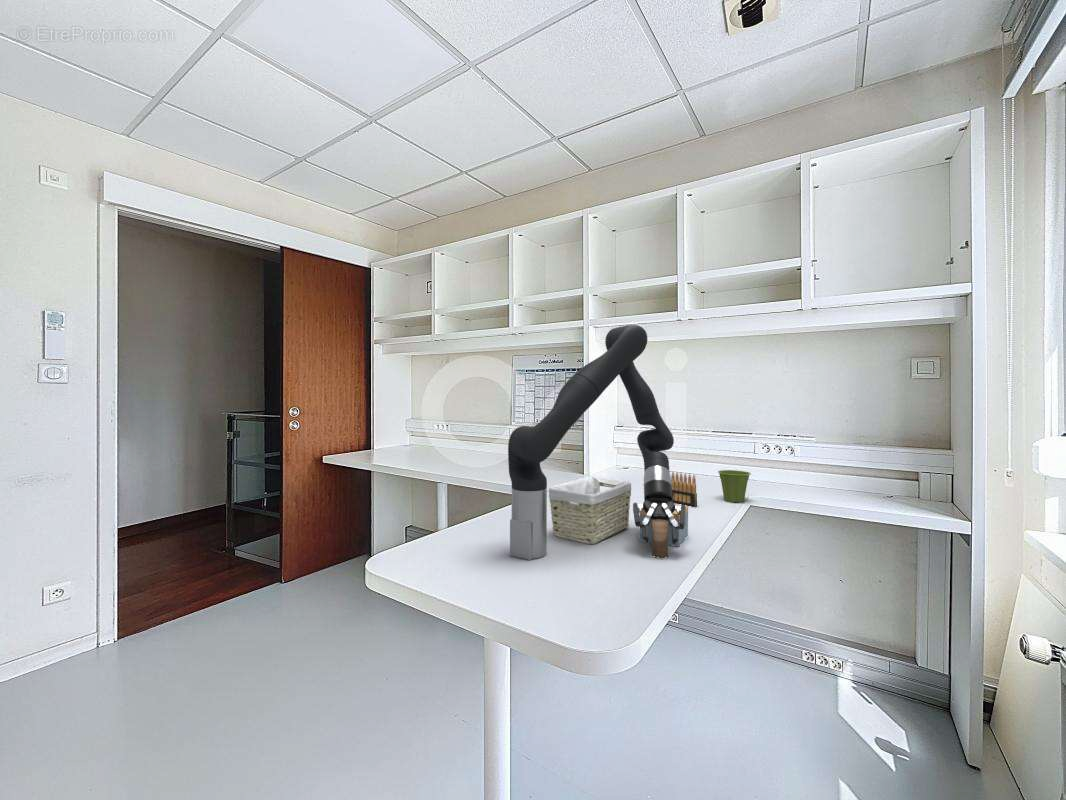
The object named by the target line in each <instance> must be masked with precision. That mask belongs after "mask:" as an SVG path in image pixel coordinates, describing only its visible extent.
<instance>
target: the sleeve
mask: <svg viewBox="0 0 1066 800" xmlns="http://www.w3.org/2000/svg"><path fill="white" fill-rule="evenodd" d="M674 504H675V503H674ZM675 506H681V505H679V504H675ZM646 514H647V513H646V512H645V511H644V509H641V512H640V513H639V516H640V520H642V521H643V520H644V519H645V517H646ZM672 514H673V516H674V519H675V520H676V522H677V523H678V522H680V515H678V514H677V511H676V510H675V511H674V512H673V513H672ZM652 520H653V519H652ZM678 536H679V538H678V542H676V544H673V542H672V528H671V526H670V525H669V524H668V546H669V545H674V546H673V547H675V546H679V545H680V544H681V543H682V542H683V541H686V539H687V538H688V537H689V506H686V511H685V525H684V529H679V530H678ZM687 536H688V537H687ZM686 537H687V538H686ZM685 538H686V539H685ZM640 540H641V541H642V542H645V540H643V533H642V528H641V527H639V541H640ZM641 541H640V542H641ZM648 541H649V542H648V543H651V542H652V521H651V522H650V524H649V525H648ZM683 543H684V542H683ZM683 543H682V544H683ZM682 544H681V545H682ZM681 545H680V546H681ZM680 546H679V547H680Z"/></svg>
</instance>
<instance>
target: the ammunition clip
mask: <svg viewBox="0 0 1066 800" xmlns="http://www.w3.org/2000/svg"><path fill="white" fill-rule="evenodd" d="M670 476H671V485H672V497H673V503H674V504H676V505H679V504H681V505H686V506H688V507H689V506H691V507H690V508H694V507H695V508H698V493H697V480H696V475H695V474H693V475H692V476H691V473H689V474H688V477H687V473H684V475H683V473H682V472H680V474H679V472H677V471H676V473H675V472H674V471H672V472H671V475H670Z"/></svg>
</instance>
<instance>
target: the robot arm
mask: <svg viewBox="0 0 1066 800" xmlns="http://www.w3.org/2000/svg"><path fill="white" fill-rule="evenodd" d="M604 342H605V347H606V351H605V352H604V353H603V354H602V355H600V356H598V357H596V358H595V359H594V360H592V361H590V362H589V363H587V364H585V365H584V366H583V367H581V368H580V369H579V370H577V371H576V372H575V373H574V374H573V375H572V376H571V377H570V378H569V380H567V382H566V383H564V385H563V386H562V387H561V389H560V390H559V392H558V393H557V394H558V395H557V397H556V400H555V403H554V404H553V407H552V408H551V410H550V411H549V412H548V413H547V414H546V416H544V417H543V418H542V419H541V420H540V421H539V422H538V423H537V424H536V425H534V426H529V425H522V426H519V427H516V428H515V429H514V430H513V431H512V433H511V434H510V435H509V439H508V446H507V453H508V455H507V456H508V458H507V459H508V462H507V463H508V475H509V478H510V481H511V518H510V520H509V556H511V557H514V558H519V559H523V560H529V561H531V560H534V559H539V558H542V557H545V556H546V555H547V553H548V552H547V550H548V548H547V542H548V540H547V537H548V535H547V534H548V533H547V526H548V522H547V518H548V517H547V512H548V510H547V509H548V506H547V505H548V503H547V502H548V500H547V499H548V481H547V479H548V478H547V476H546V475H545V474H544V472H543V471H542V467H541V463H542V462H544V461H546V459H547V460H548V458H549V457H550V456H551V454H553V452H554V450H555V449H556V448H557V446H558V445H559V444H560V442H561V441H562V439H563V438H564V437H565V435H566V434H567V433H568V431H570V429H571V428H572V426H574V424H575V423H577V421H578V420H579V419H580V418H581V417H582V416H583V415H584V413H586V412H587V410H588V409H589V408H590V407H592V405H593V404H594V403H595V402H596V401H597V400H598V398H599V397H601V395H602V394H603V393H604V391H605V390H606V389H607V388H608V387H609V386H610V385H611V384H612V383H613V382H614V380H615V379H617V377H618V376H619V377H620V380H621V381H622V383H623V386H624V387H625V390H626V393H627V395H628V398H629V401H630V404H631V407H632V411H633V413H634V417H635V419H636V422H637V424H638V425H641V426H644V425H645V426H652V427H654V428H653V429H652V428H651V429H646V430H642V431H641V432H639V434H638V435H637V439H636V442H637V445H638V447H639V450H640V453H641V455H642V459H643V469H644V470H643V471H644V475H643V483H642V484H643V497H644V498H643V499H644V500H643V503H639V504H638V503H637V502H633V504H632V511H633V513H632V514H633V519H634V524H635V525H634V526H635V527H637V528H640V527H641V528H642V533H643V540H645V541H644V542H646V543H649V542H648V525H649V524H650V522H651V521H652V519H653V520H655V519H662V520H666V521H668V524H669V525H670V526H671V528H672V542H673V544H676V542H678V538H679V536H678V530H679V529H684V525H685V511H686V506H685V505H681V506H675V503H673V497H672V485H671V476H672V475H671V473H670V472H671V471H670V460H669V457H668V455H667V454H666V453H664V452H663V451H668V450H671V449H672V448H673V446H674V443H675V440H674V436H673V434H672V431H671V430H670V428H669V427H668V425H667V424H666V423H665V420H664V419H663V418H662V416H661V413H660V412H659V407H658V404H657V402H656V398H655V395H654V392H653V391H652V389H651V387H650V386H649V385H648V383H647V382H646V381H645V380H644V378H643V377H642V375H641V373H639V371H638V369H637V367H636V366H635V363H634V361H635V360H636V359H637V358H639V356H641V355H642V354H643V353H644V351H645V350H646V347H647V344H648V333H647V331H646V330H645V329H644V328H643V327H642V326H640V325H636V324H627V325H623V326H618V327H613V328H611V329H610V330H609V331H608V332H607V334H606V335H605V341H604ZM641 509H644V511H645V512H646V513H647V514H646V517H645V519H644V520H643V521H642V520H640V512H641ZM675 510H676V511H677V514H678V515H680V522H678V523H677V522H676V520H675V519H674V516H673V514H672V513H673V512H674V511H675Z"/></svg>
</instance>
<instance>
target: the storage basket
mask: <svg viewBox="0 0 1066 800" xmlns="http://www.w3.org/2000/svg"><path fill="white" fill-rule="evenodd" d="M600 487H605V488H608V489H604V490H601V491H600ZM631 496H632V483H631V482H630V481H629V480H626V481H625V480H621V479H614V478H607V477H601V476H591V475H590V476H587V477H582V478H579V479H576V480H572V481H568V482H565V483H560V484H556V485H551V486H550V487H548V499H549V503H550V504H549V506H550V515H551V523H552V532H553V533H552V534H553V535H554V536H555V537H559V538H563V539H568V540H571V541H574V542H577V543H583V544H587V545H594V544H597V542H598V543H599V542H601V541H604V540H605V539H607V538H609V537H612V536H613V535H615V534H617V533H619V532H621V531H623V530H625V529H626V528H629V526H630V525H629V522H630V521H629V520H630V519H629V518H630V508H631V507H630V505H631Z"/></svg>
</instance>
